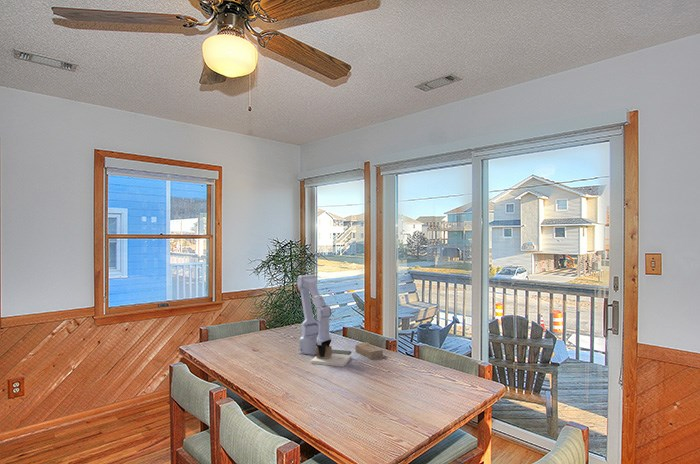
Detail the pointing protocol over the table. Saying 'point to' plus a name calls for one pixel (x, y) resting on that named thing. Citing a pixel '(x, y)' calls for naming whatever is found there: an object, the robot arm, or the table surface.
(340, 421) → the table surface
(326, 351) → the block
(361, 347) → the brick
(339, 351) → the mat
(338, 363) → the board
